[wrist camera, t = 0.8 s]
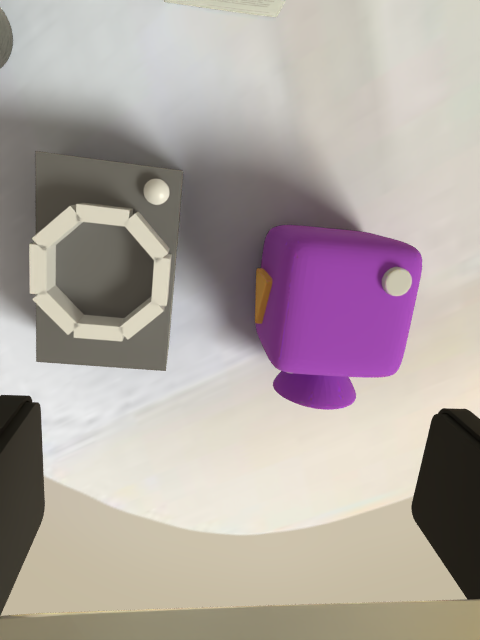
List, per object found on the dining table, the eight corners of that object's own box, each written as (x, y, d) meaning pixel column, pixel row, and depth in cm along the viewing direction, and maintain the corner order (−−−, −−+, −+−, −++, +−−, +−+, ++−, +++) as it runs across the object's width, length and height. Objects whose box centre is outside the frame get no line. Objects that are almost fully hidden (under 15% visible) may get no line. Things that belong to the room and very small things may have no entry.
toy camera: (254, 383, 39) (275, 447, 29) (239, 226, 35) (258, 242, 25) (372, 368, 40) (429, 425, 30) (372, 213, 36) (438, 222, 26)
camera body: (58, 156, 32) (23, 148, 25) (183, 172, 33) (181, 169, 27) (56, 338, 36) (26, 373, 29) (168, 347, 37) (164, 382, 30)
